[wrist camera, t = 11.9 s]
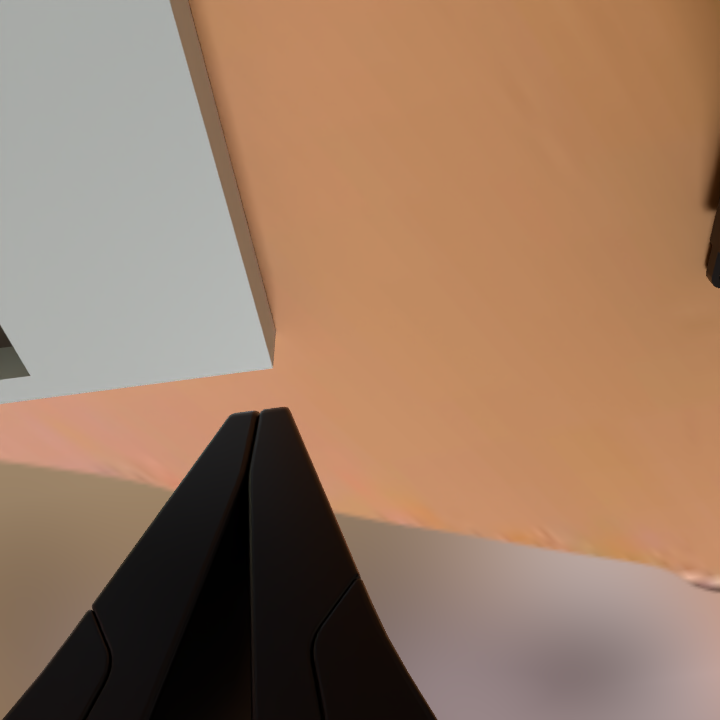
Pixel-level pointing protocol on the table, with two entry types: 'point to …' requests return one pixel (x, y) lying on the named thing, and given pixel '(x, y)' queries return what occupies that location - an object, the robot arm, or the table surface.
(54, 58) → the tray
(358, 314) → the table surface
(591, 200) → the table surface
